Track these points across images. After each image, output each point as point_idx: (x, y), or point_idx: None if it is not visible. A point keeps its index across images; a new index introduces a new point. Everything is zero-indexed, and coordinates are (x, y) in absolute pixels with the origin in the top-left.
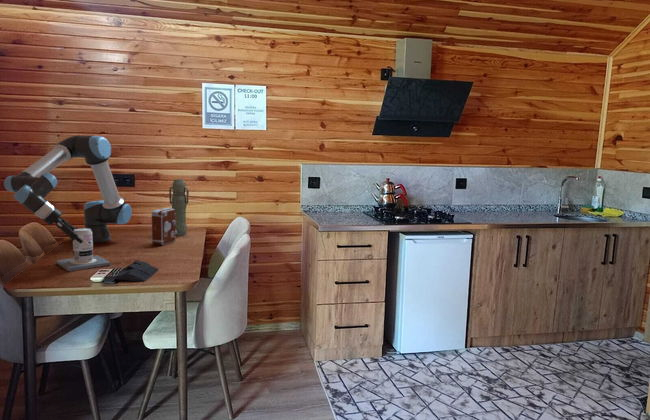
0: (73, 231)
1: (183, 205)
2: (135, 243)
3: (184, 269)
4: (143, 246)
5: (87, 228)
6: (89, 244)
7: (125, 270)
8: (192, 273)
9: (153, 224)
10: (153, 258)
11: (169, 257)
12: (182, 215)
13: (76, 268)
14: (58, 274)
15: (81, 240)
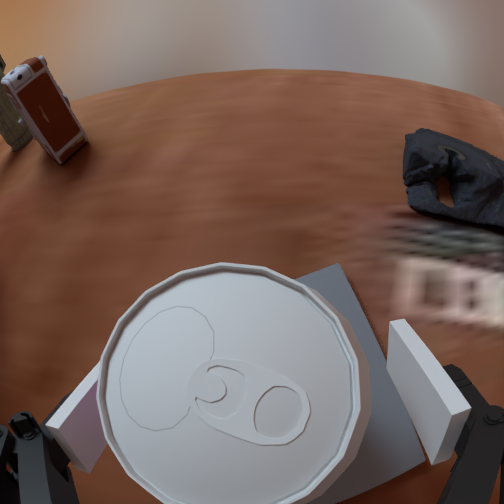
0: (457, 491)
1: (3, 74)
2: (19, 211)
3: (408, 92)
4: (61, 185)
5: (133, 309)
6: (405, 323)
7: (490, 200)
8: (442, 89)
9: (34, 111)
10: (250, 137)
11: (252, 107)
12: None
13: (410, 425)
14: None
15: (464, 376)
